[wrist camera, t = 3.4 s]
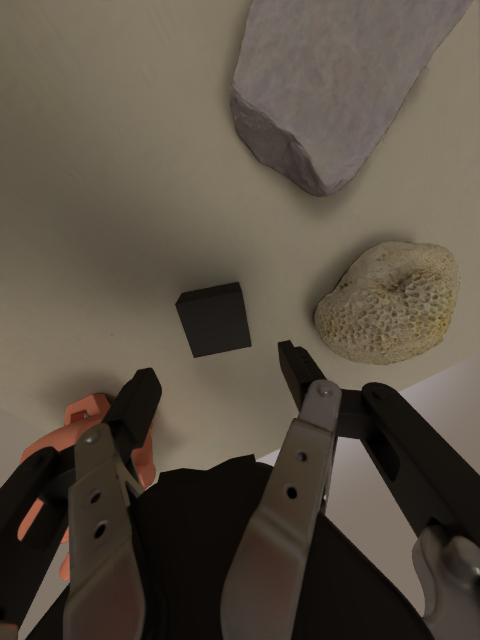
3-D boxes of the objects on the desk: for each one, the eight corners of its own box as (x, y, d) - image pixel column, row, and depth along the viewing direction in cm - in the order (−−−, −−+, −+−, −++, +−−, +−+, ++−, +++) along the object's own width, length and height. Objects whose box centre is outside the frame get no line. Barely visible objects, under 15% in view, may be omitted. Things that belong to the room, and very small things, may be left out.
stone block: (220, 142, 15) (324, 211, 16) (206, 92, 11) (352, 193, 12) (311, -73, 12) (437, 33, 13) (349, -286, 7) (542, -94, 8)
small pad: (197, 341, 21) (194, 358, 18) (181, 292, 18) (174, 304, 16) (247, 331, 21) (251, 346, 18) (238, 281, 18) (241, 290, 16)
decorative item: (379, 388, 21) (348, 385, 14) (327, 329, 26) (288, 307, 20) (511, 311, 16) (558, 251, 9) (414, 259, 22) (400, 199, 15)
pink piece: (136, 575, 16) (47, 586, 17) (178, 432, 26) (120, 447, 28) (10, 524, 11) (-98, 546, 12) (124, 373, 21) (58, 395, 23)
